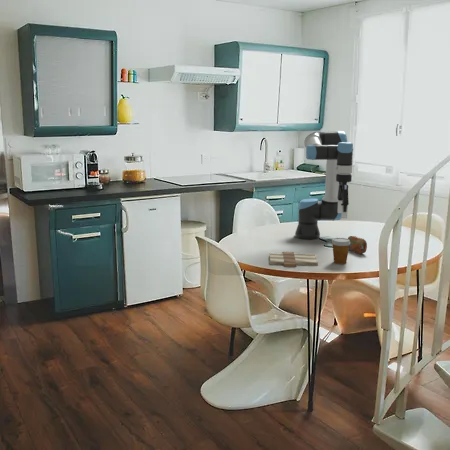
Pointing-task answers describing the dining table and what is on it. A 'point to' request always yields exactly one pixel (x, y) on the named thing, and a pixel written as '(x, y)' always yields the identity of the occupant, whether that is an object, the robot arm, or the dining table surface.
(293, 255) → the board
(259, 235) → the dining table surface
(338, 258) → the disposable coffee cup
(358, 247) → the tin
